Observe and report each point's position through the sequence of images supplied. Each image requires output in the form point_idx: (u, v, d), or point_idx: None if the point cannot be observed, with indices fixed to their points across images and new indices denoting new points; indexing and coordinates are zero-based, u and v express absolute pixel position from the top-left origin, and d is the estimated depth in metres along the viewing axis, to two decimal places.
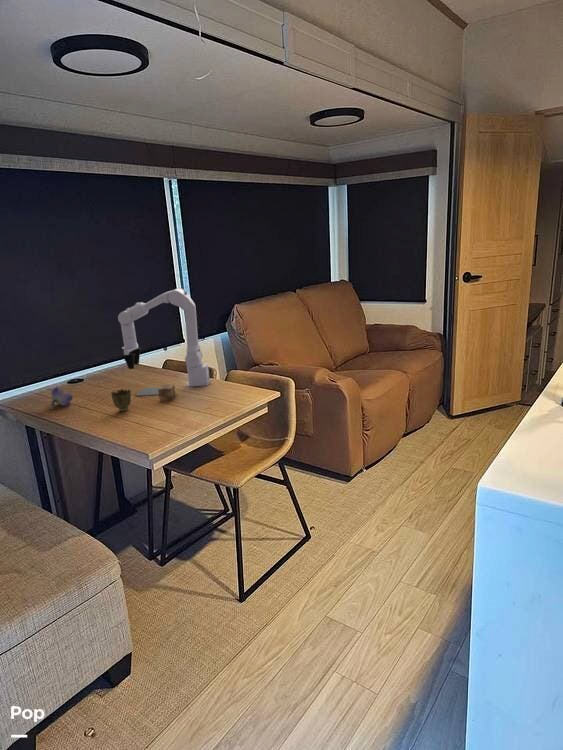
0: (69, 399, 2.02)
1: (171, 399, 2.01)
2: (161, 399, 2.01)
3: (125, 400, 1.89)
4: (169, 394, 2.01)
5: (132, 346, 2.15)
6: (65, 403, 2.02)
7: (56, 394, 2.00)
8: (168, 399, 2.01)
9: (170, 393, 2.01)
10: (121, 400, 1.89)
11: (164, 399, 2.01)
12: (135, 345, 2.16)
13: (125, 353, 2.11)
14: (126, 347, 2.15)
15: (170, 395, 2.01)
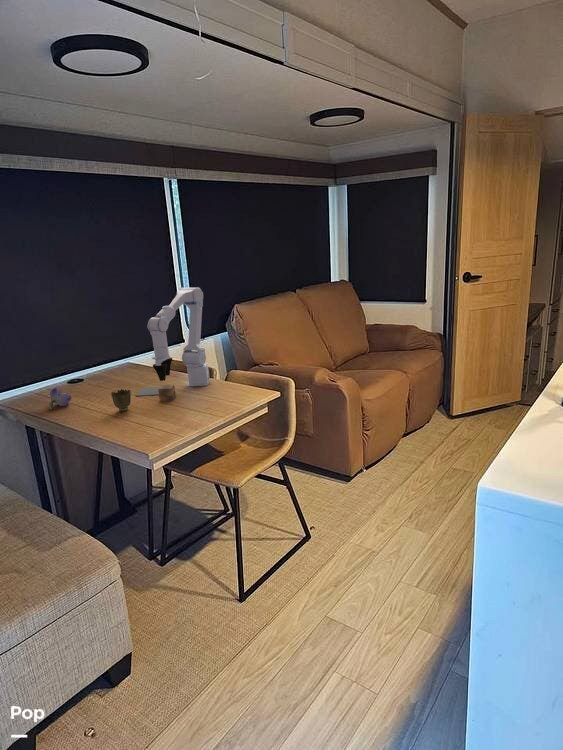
0: (68, 399, 2.02)
1: (171, 399, 2.01)
2: (161, 399, 2.01)
3: (125, 400, 1.89)
4: (169, 394, 2.01)
5: (164, 356, 1.96)
6: (64, 403, 2.02)
7: (55, 394, 1.99)
8: (168, 399, 2.01)
9: (170, 393, 2.01)
10: (121, 400, 1.89)
11: (164, 399, 2.01)
12: (167, 355, 1.98)
13: (157, 364, 1.92)
14: (157, 357, 1.96)
15: (170, 395, 2.01)
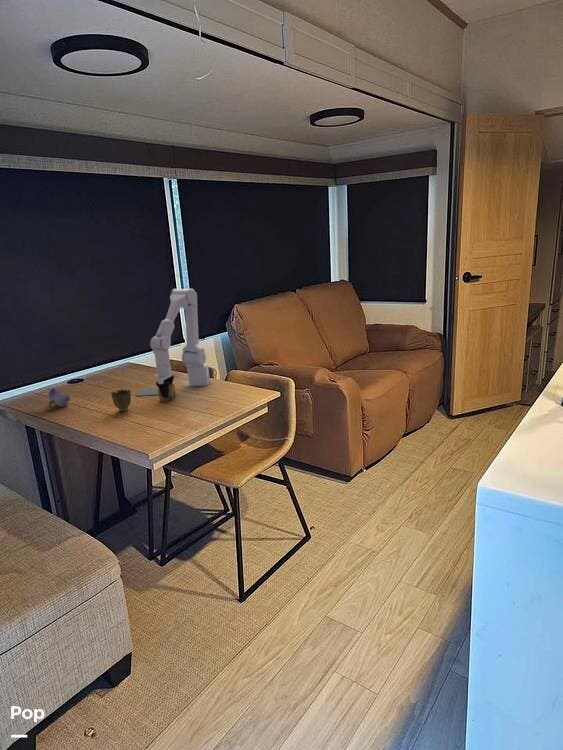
0: (66, 400, 2.01)
1: (171, 399, 2.01)
2: (161, 399, 2.01)
3: (125, 400, 1.89)
4: (169, 394, 2.01)
5: (166, 374, 1.99)
6: (62, 404, 2.01)
7: (53, 395, 1.99)
8: (168, 399, 2.01)
9: (170, 393, 2.01)
10: (121, 400, 1.89)
11: (164, 399, 2.01)
12: (169, 373, 2.00)
13: (159, 382, 1.95)
14: (160, 375, 1.99)
15: (170, 395, 2.01)
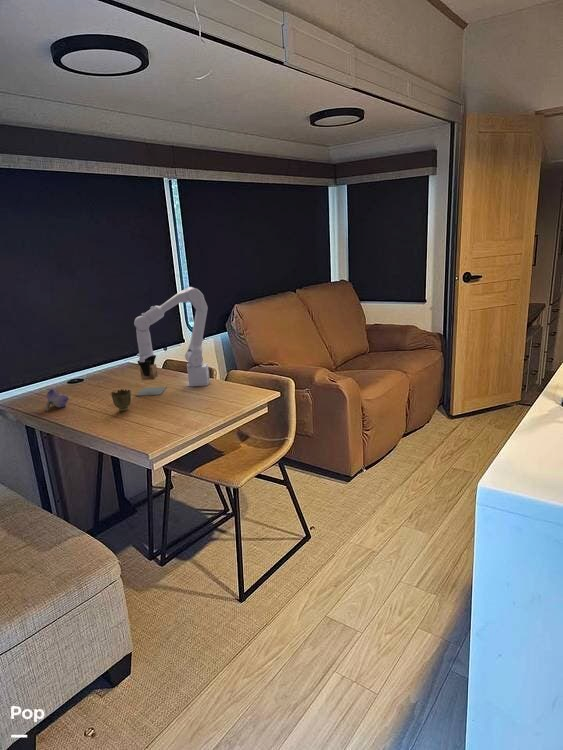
0: (65, 401, 2.01)
1: (152, 378, 2.10)
2: (143, 378, 2.10)
3: (125, 400, 1.89)
4: (150, 373, 2.10)
5: (147, 353, 2.08)
6: (61, 405, 2.00)
7: (52, 396, 1.98)
8: (149, 378, 2.10)
9: (151, 372, 2.09)
10: (121, 400, 1.89)
11: (146, 378, 2.10)
12: (150, 352, 2.09)
13: (141, 360, 2.03)
14: (141, 354, 2.07)
15: (151, 374, 2.10)
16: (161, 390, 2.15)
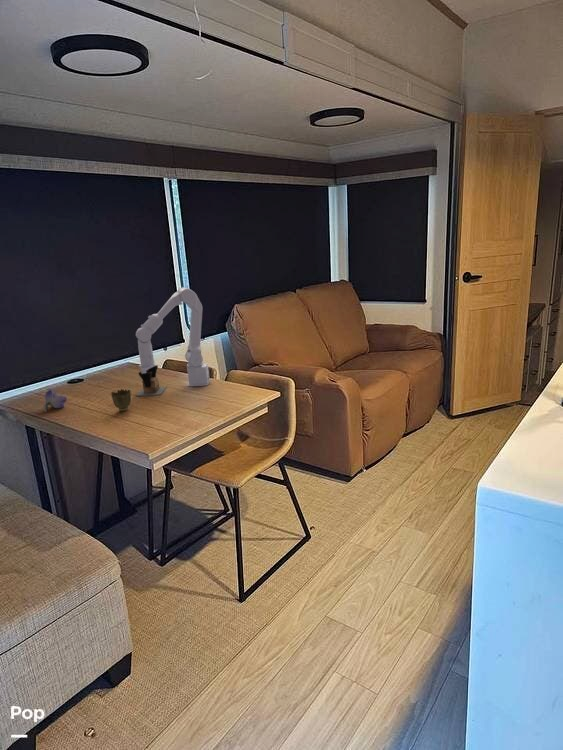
0: (63, 401, 2.00)
1: (154, 391, 2.12)
2: (145, 391, 2.12)
3: (125, 400, 1.89)
4: (153, 386, 2.12)
5: (149, 364, 2.09)
6: (59, 405, 2.00)
7: (50, 396, 1.97)
8: (152, 391, 2.12)
9: (153, 385, 2.11)
10: (121, 400, 1.89)
11: (148, 391, 2.12)
12: (152, 363, 2.10)
13: (142, 372, 2.05)
14: (143, 365, 2.09)
15: (154, 387, 2.12)
16: (161, 390, 2.15)
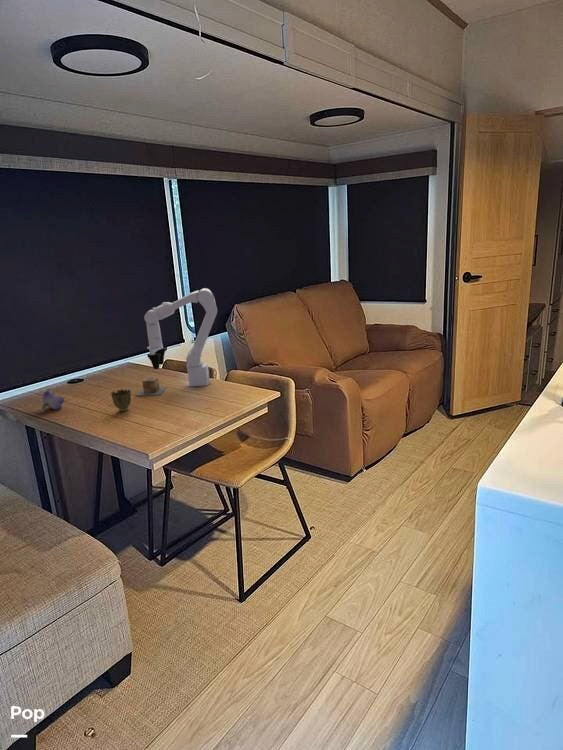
0: (61, 402, 1.99)
1: (154, 391, 2.12)
2: (145, 391, 2.12)
3: (125, 400, 1.89)
4: (153, 386, 2.12)
5: (157, 346, 2.13)
6: (56, 406, 1.99)
7: (47, 397, 1.96)
8: (152, 391, 2.12)
9: (153, 385, 2.11)
10: (121, 400, 1.89)
11: (148, 391, 2.12)
12: (160, 345, 2.14)
13: (151, 353, 2.09)
14: (151, 347, 2.13)
15: (154, 387, 2.12)
16: (161, 390, 2.15)
